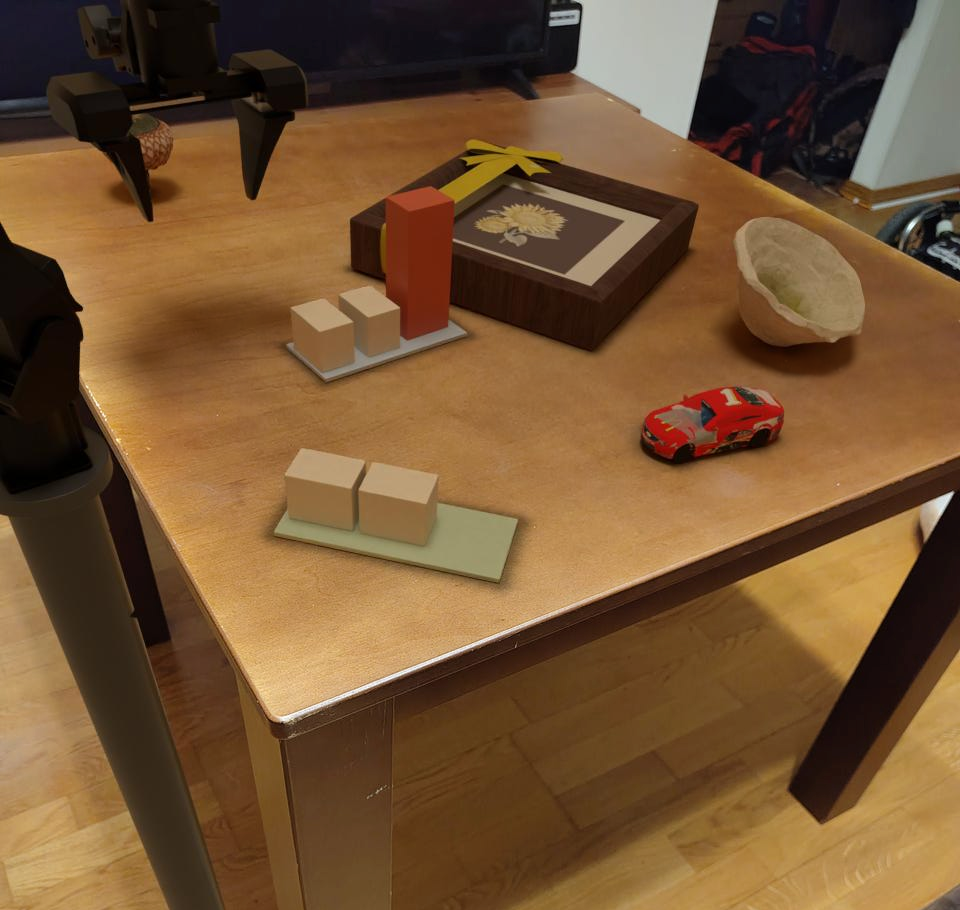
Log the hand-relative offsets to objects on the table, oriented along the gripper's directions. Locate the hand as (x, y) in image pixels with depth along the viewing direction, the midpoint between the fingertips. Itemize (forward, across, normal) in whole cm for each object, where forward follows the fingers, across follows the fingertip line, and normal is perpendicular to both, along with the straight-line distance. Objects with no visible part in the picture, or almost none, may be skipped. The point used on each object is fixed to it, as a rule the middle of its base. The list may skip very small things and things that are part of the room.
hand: (201, 209), depth 74 cm
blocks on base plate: (+12, -12, +8) cm, 19 cm away
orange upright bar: (+12, -17, +8) cm, 22 cm away
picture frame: (+12, -37, +1) cm, 39 cm away
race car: (+12, -28, +36) cm, 47 cm away
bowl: (+12, -48, +28) cm, 57 cm away
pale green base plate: (+12, +1, +31) cm, 33 cm away
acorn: (+12, -8, -34) cm, 37 cm away
